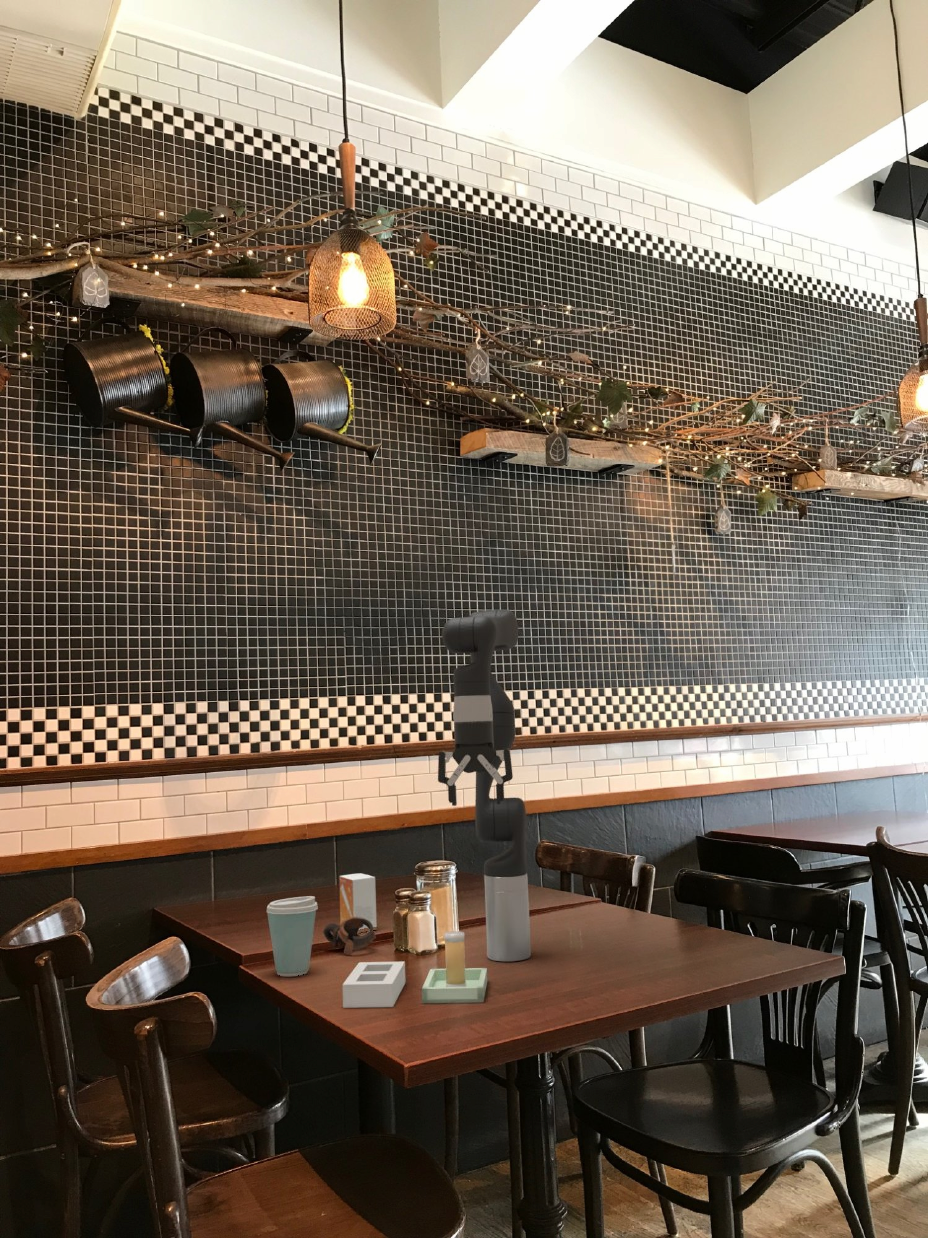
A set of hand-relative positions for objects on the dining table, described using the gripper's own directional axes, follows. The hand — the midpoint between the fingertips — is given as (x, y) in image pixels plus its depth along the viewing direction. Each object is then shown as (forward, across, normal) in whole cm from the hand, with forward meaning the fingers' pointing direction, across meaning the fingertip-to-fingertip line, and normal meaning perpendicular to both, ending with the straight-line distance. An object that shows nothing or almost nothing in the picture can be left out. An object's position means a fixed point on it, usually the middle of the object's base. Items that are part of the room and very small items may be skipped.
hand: (476, 804), depth 188 cm
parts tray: (+34, +5, +2) cm, 35 cm away
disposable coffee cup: (+34, +40, -14) cm, 55 cm away
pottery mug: (+34, +32, -33) cm, 57 cm away
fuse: (+34, +5, +2) cm, 34 cm away
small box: (+34, +34, -54) cm, 72 cm away
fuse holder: (+34, +20, +3) cm, 40 cm away
